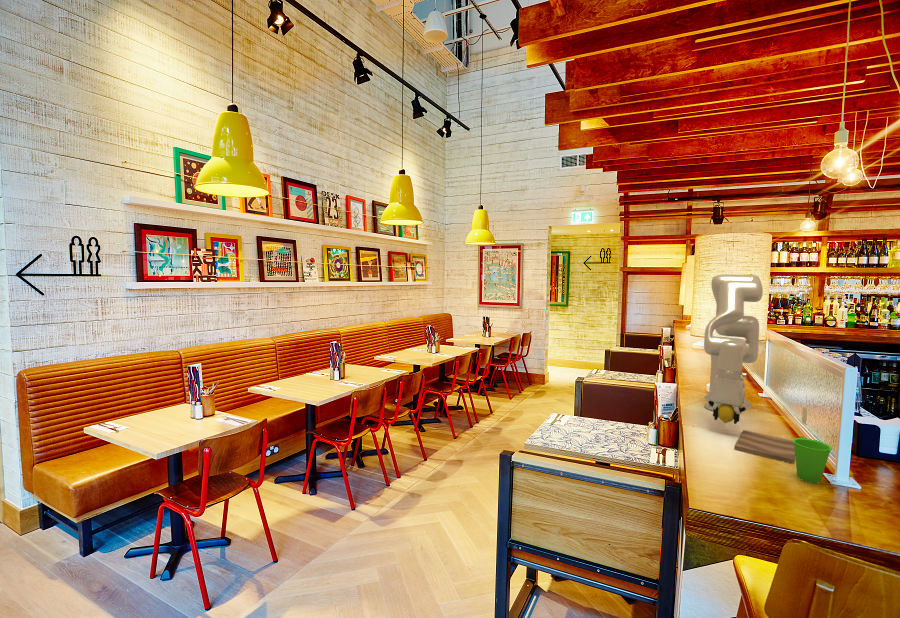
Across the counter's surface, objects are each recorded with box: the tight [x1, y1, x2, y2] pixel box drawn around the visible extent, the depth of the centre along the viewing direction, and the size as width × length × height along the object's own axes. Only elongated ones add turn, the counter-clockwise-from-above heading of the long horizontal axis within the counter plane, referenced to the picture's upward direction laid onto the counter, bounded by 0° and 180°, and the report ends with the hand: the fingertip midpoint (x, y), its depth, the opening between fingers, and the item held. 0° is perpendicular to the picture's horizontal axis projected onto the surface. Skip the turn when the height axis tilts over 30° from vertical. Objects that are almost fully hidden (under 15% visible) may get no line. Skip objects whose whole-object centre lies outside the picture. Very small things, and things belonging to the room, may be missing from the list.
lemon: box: [718, 404, 735, 424], centre depth 161 cm, size 6×6×8 cm
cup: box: [791, 437, 833, 484], centre depth 126 cm, size 9×9×11 cm
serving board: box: [734, 429, 796, 465], centre depth 149 cm, size 20×16×2 cm
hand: (725, 420), depth 161 cm, fingers closed on lemon, 5 cm apart
